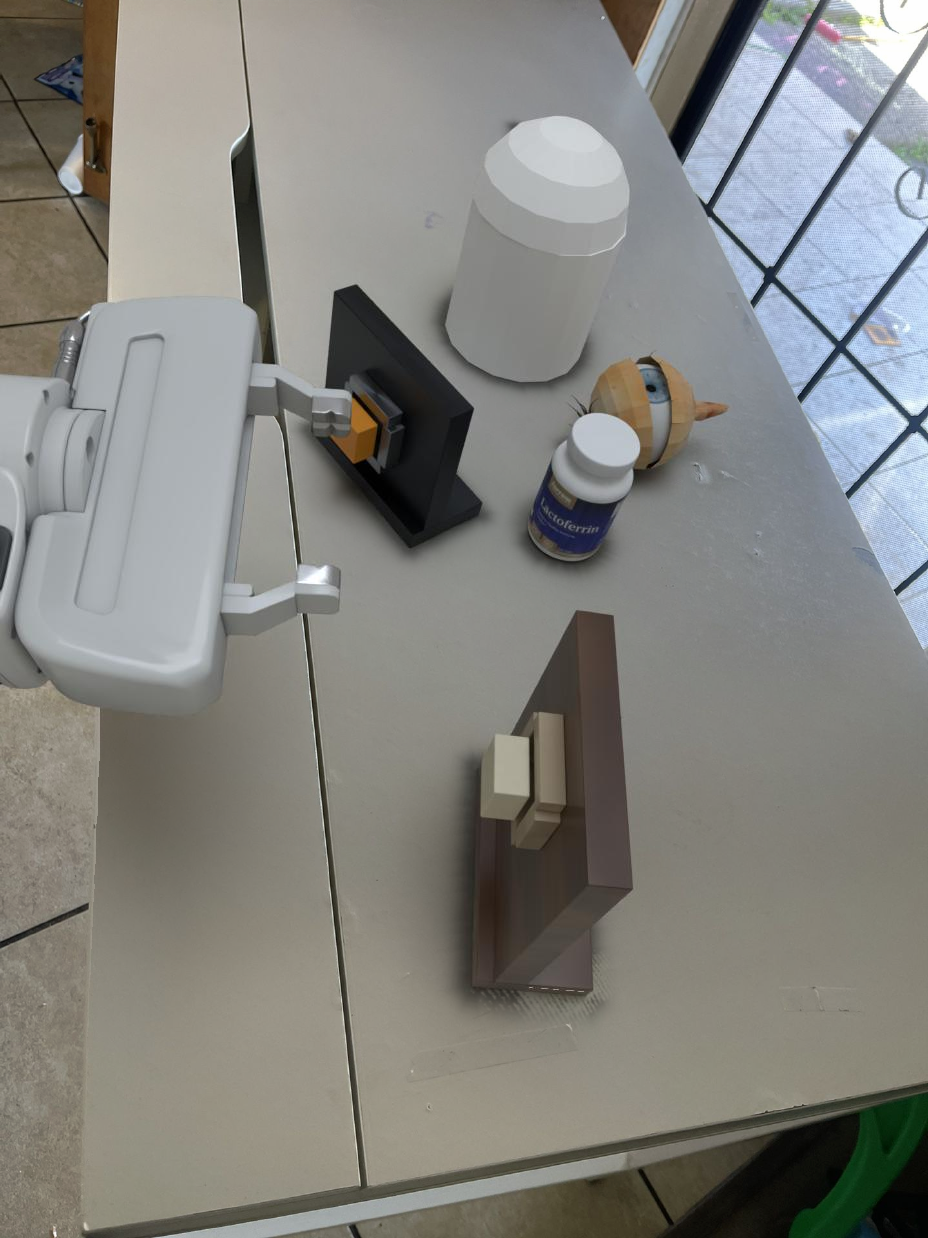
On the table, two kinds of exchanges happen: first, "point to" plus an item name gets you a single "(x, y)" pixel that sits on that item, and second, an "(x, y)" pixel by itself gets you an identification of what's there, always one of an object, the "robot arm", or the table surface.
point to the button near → (505, 777)
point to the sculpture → (651, 406)
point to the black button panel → (400, 421)
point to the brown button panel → (557, 827)
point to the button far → (358, 435)
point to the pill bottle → (584, 487)
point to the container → (538, 249)
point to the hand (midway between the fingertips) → (346, 498)
